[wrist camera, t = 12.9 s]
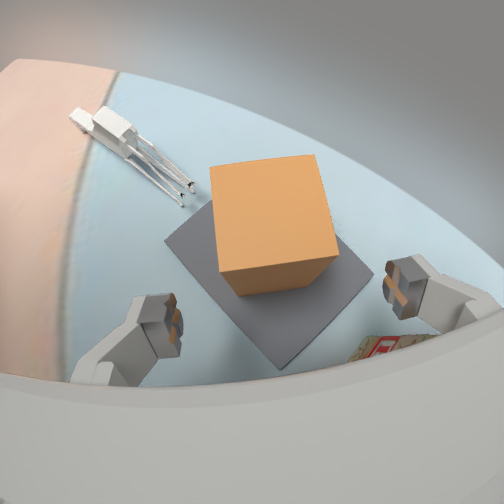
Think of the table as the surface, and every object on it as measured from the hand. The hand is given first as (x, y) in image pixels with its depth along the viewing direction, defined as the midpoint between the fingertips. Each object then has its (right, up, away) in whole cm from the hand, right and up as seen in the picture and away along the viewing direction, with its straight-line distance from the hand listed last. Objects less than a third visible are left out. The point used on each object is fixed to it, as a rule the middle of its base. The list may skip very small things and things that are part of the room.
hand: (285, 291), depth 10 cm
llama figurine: (-14, +11, +15) cm, 23 cm away
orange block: (0, +1, +11) cm, 11 cm away
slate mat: (0, +1, +11) cm, 11 cm away
